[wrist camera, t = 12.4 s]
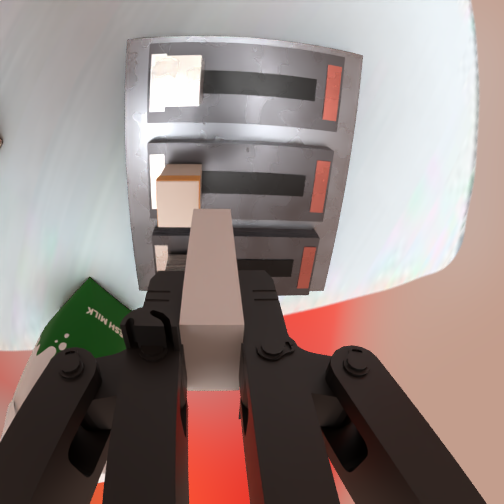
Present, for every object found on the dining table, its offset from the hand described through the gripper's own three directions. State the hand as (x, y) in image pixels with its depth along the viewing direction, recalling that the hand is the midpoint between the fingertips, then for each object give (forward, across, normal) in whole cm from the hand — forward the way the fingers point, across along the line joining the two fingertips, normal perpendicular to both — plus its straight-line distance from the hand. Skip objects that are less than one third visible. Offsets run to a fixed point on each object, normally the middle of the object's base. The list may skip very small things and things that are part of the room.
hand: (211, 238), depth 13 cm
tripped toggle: (+9, -2, -1) cm, 9 cm away
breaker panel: (+13, +2, -1) cm, 13 cm away
